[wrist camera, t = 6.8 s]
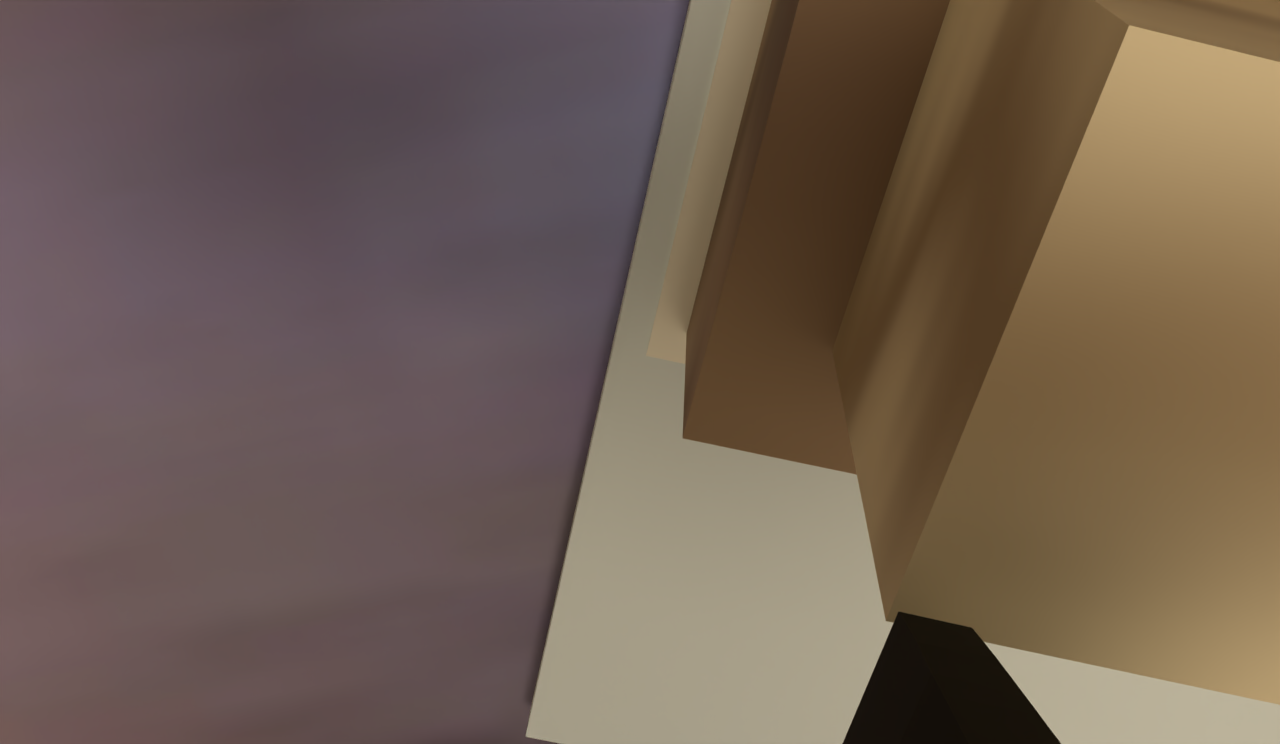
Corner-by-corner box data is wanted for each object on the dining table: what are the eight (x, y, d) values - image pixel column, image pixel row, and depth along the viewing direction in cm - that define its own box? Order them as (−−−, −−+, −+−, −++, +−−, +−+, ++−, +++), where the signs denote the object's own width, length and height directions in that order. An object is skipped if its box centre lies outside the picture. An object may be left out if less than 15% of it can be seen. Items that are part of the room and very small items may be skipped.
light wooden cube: (1229, 440, 15) (1449, 740, 10) (832, 351, 15) (886, 621, 10) (1444, 34, 13) (1843, 200, 8) (977, -82, 12) (1128, 25, 8)
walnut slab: (1206, 444, 18) (1291, 565, 16) (686, 333, 18) (683, 438, 15) (1488, -114, 15) (1662, -81, 12) (841, -271, 14) (870, -270, 12)
